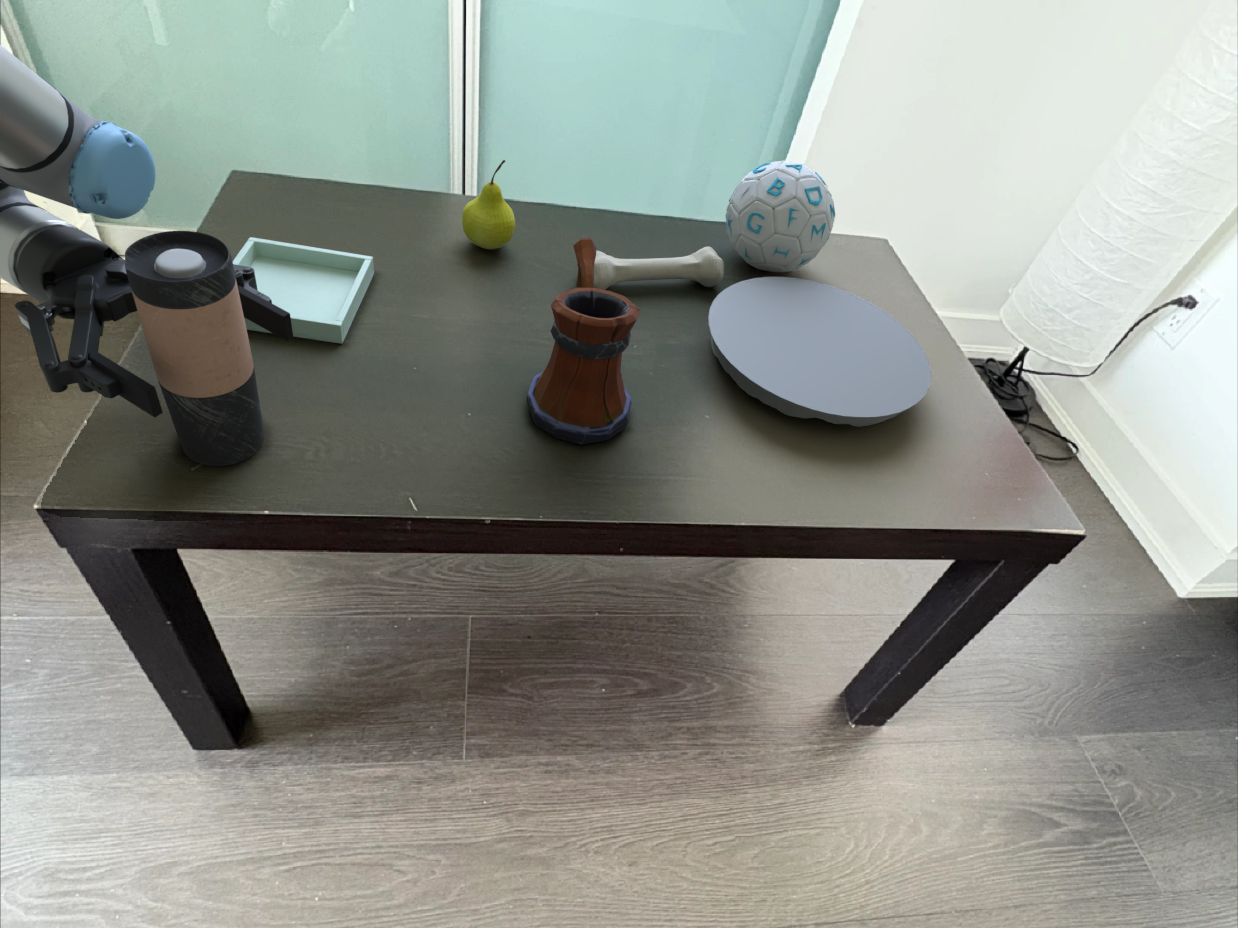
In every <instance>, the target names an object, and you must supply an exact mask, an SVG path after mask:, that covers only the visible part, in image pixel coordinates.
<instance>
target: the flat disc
mask: <svg viewBox="0 0 1238 928" xmlns="http://www.w3.org/2000/svg"><path fill="white" fill-rule="evenodd" d="M708 326H709V331H710V334H711V338H710V342H711V343H710V344H711V350H712V353H713V355H714V356H715V357H716V358H717V359H718V361H719V363H720V365H721V366H722V369H723V370H724V371H725V372H726V373H727V374H729V376H730V377H731V378H732V380H733V381H734V382H735V383H736V385H737V386H738V387H739V388H740V389H741V390H743V391H744V392H745V393H746V394H747V395H749V396H751V397H753V398H756V399H758V400H759V401H760V402H762V404H765V405H767V406H768V407H771V408H774V409H776V410H778V411H779V412H780V413H782V414H784V415H786V416H789V417H795V418H799V419H813V418H814V419H815V418H817V419H819V420H824V421H825V422H827V423H832V424H833V425H851V426H854V427H856V428H860V427H867V426H873V425H876V424H879V423H881V422H884V421H887V420H890V419H892V418H895V417H896V416H898V415H899V414H901V413H902V412H904V411H906V410H909V409H910V408H911V407H914V406H915V405H917V404H918V403H920V401H921V400H922V399H923V398H924V397H925V395H926V394H927V392H928V390H929V389H930V385H931V381H932V369H931V363H930V361H929V358H928V356H927V354H926V352H925V349H924V348H923V347H922V345H921V344H920V343H919V341H918V340H917V338H916V337H915V336H914V335H913V334H912V333H911V331H909V330H908V328H906V326H904V325H903V324H902V323H901V322H900V321H899V320H897V319H896V318H895V317H893V316H892V315H891V314H890V313H888V312H887V311H885V310H883V308H880V307H879V306H877V305H875V304H874V303H872V302H870V301H869V300H867V299H865V298H862V297H860V296H858V295H856V294H854V293H852V292H850V291H847V290H844V289H841V288H839V287H836V286H832V285H829V284H826V283H822V282H819V281H814V280H810V279H804V278H799V277H789V276H761V277H753V278H749V279H745V280H741V281H738V282H736V283H733V284H731V285H729V286H728V287H726V288H724V289H723V290H722V291H721V292H720V293H718V294H717V295H716V297H715V298H714V299H713V301H712V302H711V305H710V307H709V312H708Z"/></svg>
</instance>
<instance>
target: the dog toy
mask: <svg viewBox="0 0 1238 928" xmlns="http://www.w3.org/2000/svg"><path fill="white" fill-rule="evenodd" d="M724 275H725V263H724V260H723V259H722V258H721V257H720V256H719V255H718V253H717V252H716V251H715V249H713V247H711V246H709V245H708V246H704V247H701V248H700V249H698V250H697V251H695V252H692V253H691V254H689V255H685V256H678V257H677V256H676V257H660V258H658V257H657V258H656V257H655V258H618V257H615V256H613V255H607V254H606V253H605V252H603V251H600V250H596V258H595V263H594V288H598V289H603V290H607V289H608V288H609V287H610V286H613V285H615V284H618V283H623V282H624V283H625V282H636V281H638V282H639V281H663V280H690V281H694V282H697V283H699V284H701V285H702V286H704V287H707V288H712V287H715V286H716V285H718V284H719V283H720V282H721V281H722V280H723V278H724Z"/></svg>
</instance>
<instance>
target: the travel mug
mask: <svg viewBox="0 0 1238 928" xmlns="http://www.w3.org/2000/svg"><path fill="white" fill-rule="evenodd" d="M124 259H125V269H126V273H127V277H128V280H129V283H130V287H131V290H132V294H133V297H134V300H135V304H136V307H137V311H136V312H137V313H138V317H139V321H140V324H141V328H142V332H143V334H144V338H145V342H146V345H147V349H148V352H149V355H150V358H151V361H152V365H153V369H154V372H155V375H156V379H157V382H158V384H159V386H160V390H161V393H162V396H163V399H164V401H165V404H166V407H167V409H168V412H169V415H170V418H171V420H172V424H173V426H174V429H175V433H176V435H177V438H178V441H179V443H180V446H181V449H182V450H183V452H184V454H185V455H186V456H187V457H188V458H189V459H190V460H192V461H193V462H195V463H197V464H199V465H202V466H203V465H204V466H208V467H226V466H231V465H236V464H240V463H241V462H244V461H246V460H248V459H250V458H251V457H252V456H254V455H255V454H256V453H257V452H258V451H259V450H260V449H261V447H262V445H263V443H264V438H265V431H264V424H263V423H264V422H263V418H262V410H261V403H260V397H259V390H258V384H257V378H256V370H255V365H254V359H253V354H252V349H251V344H250V339H249V335H248V330H246V325H245V320H244V315H243V310H242V305H241V301H240V296H239V291H238V286H237V281H236V277H235V272H234V267H233V258H232V254H231V251H230V249H229V247H228V246H227V245H226V243H224V242H223V240H221V239H219V238H218V237H215V236H213V235H210V234H208V233H203V232H199V231H195V230H194V231H192V230H168V231H161V232H156V233H153V234H150V235H146V236H143V237H142V238H139V239H137V240H136V241H134V242H132V243H131V244H130V245H128V247H127V248H126V249H125V252H124Z"/></svg>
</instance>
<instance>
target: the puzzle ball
mask: <svg viewBox="0 0 1238 928" xmlns="http://www.w3.org/2000/svg"><path fill="white" fill-rule="evenodd" d="M834 203H835V201H834V199H833V195H832V193H831V192H830V190H829V187H828V185H827V184H826V181H824V179H823V178H822V177H821V176H820V175H819V174H818V173H817V172H816V171H814V170H812V168H810V167H809V166H807V165H805V164H804V163H799V162H794V161H788V160H777V161H771V162H765V163H763V164H760V165H758V166H757V167H755V168H754V169H752V170H751V171H750V172H748V173H747V174H746V175H745V176H743V178H742V179H741V180H740V181H739V182H738V184H737V186H736V188H735V189H734V190H733V193H732V194H731V196H730V197H729V199H728V204H727V206H726V212H725V227H726V233H727V234H726V235H727V237H728V240H729V242H730V244H731V245H732V248H733V250H735V251H736V253H737V254H738V255H739V256H740V257H741V258H742V259H743V261H744V262H745V263H746V264H748V265H749V266H751V267H754V269H757V270H761V271H767V272H770V273H786V272H787V273H788V272H792V271H794V270H798V269H800V268H801V267H803V266H805V265H807V264H809V263H810V262H812V260H814V259H815V258H816V257H817V255H818V254H819V253H820V252H821V250H823V247H824V246H825V245H826V244H827V242H828V241H829V239H830V236H831V233H832V231H833V228H834V223H835V218H836V210H835V204H834Z"/></svg>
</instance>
